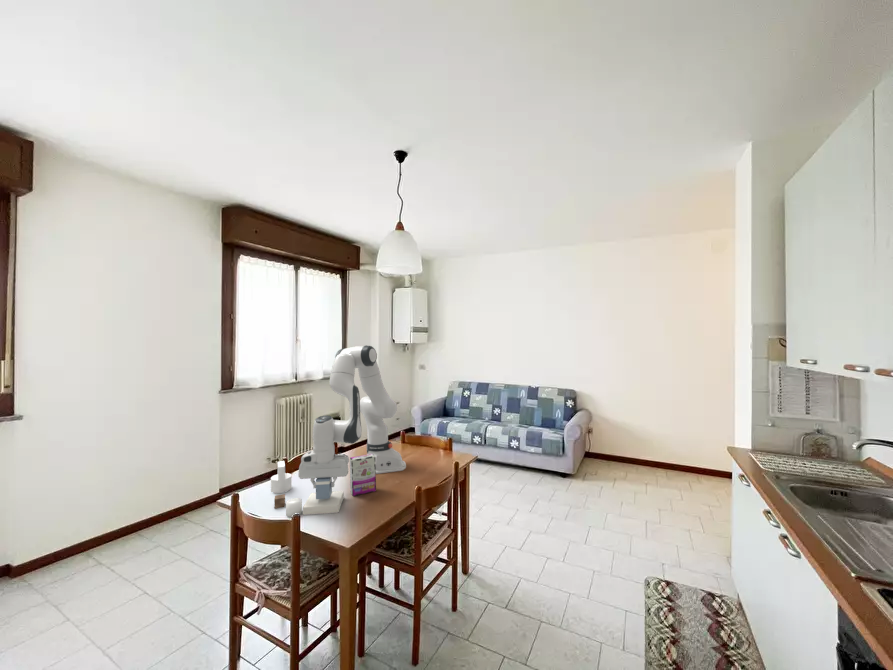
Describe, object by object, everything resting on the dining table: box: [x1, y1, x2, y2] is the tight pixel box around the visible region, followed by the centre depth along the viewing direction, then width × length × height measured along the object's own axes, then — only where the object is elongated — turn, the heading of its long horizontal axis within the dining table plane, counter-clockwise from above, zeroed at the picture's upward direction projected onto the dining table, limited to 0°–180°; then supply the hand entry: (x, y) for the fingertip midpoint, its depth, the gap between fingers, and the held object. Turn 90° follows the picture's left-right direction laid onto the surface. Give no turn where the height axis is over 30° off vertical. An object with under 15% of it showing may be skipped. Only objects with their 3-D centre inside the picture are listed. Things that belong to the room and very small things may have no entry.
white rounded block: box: [285, 497, 303, 518], centre depth 149 cm, size 6×6×5 cm
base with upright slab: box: [270, 460, 293, 494], centre depth 173 cm, size 9×9×12 cm
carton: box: [315, 477, 333, 499], centre depth 155 cm, size 6×6×8 cm
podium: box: [302, 490, 345, 516], centre depth 155 cm, size 14×14×3 cm
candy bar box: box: [349, 454, 377, 497], centre depth 169 cm, size 11×5×16 cm, turn 117°
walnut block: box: [273, 493, 286, 510], centre depth 156 cm, size 4×4×4 cm
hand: (324, 487), depth 155 cm, fingers closed on carton, 5 cm apart
